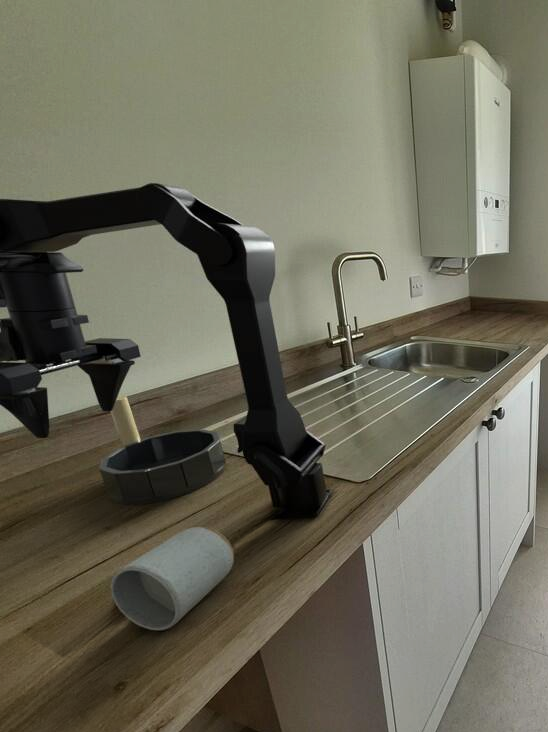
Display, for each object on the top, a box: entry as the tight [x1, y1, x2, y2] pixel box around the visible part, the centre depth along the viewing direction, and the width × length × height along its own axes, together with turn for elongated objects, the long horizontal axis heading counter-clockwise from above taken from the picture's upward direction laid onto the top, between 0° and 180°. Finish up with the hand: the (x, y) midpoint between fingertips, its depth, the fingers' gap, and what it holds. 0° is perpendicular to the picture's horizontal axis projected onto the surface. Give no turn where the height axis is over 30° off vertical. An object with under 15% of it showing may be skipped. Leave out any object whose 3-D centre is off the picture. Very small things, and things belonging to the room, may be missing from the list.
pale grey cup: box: [110, 525, 235, 632], centre depth 44 cm, size 11×8×8 cm
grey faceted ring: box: [98, 395, 227, 506], centre depth 66 cm, size 17×15×13 cm
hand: (77, 423), depth 56 cm, fingers open, 9 cm apart
